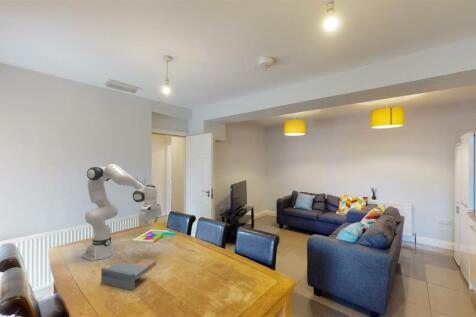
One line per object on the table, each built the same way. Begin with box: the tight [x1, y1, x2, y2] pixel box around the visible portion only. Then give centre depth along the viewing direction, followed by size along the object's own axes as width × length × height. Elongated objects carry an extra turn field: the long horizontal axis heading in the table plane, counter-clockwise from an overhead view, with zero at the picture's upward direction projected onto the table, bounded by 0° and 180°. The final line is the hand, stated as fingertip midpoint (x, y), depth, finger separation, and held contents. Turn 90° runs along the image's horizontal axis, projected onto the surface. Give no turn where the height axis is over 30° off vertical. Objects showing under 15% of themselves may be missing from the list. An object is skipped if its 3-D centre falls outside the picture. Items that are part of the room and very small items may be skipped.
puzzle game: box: [131, 229, 177, 245], centre depth 209 cm, size 30×3×30 cm
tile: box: [135, 258, 157, 271], centre depth 151 cm, size 10×14×4 cm
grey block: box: [100, 261, 149, 291], centre depth 135 cm, size 24×13×9 cm, turn 72°
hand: (151, 224), depth 162 cm, fingers open, 8 cm apart
